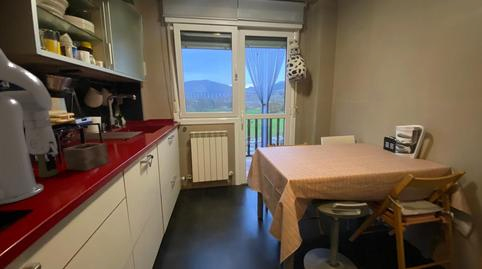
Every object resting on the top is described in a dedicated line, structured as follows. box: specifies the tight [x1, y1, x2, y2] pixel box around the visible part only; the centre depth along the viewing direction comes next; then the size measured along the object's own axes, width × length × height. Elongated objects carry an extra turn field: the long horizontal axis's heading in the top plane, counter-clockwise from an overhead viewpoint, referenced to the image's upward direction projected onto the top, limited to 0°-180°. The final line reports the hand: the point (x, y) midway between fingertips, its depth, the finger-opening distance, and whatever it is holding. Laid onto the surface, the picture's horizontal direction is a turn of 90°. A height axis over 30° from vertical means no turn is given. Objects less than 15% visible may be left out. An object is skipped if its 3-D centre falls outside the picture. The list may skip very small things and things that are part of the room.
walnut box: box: [62, 142, 110, 172], centre depth 96 cm, size 11×11×9 cm
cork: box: [36, 151, 59, 178], centre depth 86 cm, size 6×6×11 cm
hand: (47, 169), depth 86 cm, fingers closed on cork, 4 cm apart
